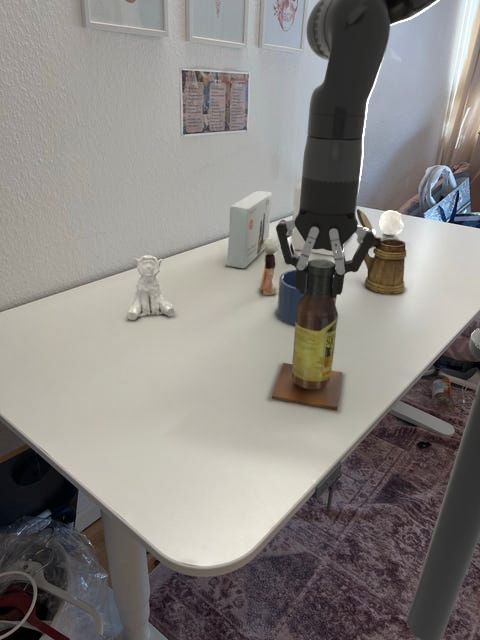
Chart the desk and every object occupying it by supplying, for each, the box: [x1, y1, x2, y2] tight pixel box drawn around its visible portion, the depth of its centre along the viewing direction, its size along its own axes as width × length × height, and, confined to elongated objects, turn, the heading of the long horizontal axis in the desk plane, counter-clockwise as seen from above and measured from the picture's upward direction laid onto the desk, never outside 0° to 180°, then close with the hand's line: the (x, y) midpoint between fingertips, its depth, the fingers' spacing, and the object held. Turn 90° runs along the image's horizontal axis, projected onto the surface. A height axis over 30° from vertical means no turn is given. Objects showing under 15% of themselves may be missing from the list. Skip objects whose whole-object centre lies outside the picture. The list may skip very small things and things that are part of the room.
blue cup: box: [277, 269, 338, 327], centre depth 99 cm, size 12×12×8 cm
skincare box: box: [226, 190, 273, 269], centre depth 129 cm, size 21×5×16 cm, turn 160°
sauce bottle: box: [291, 258, 339, 390], centre depth 72 cm, size 7×6×20 cm
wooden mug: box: [356, 208, 407, 295], centre depth 112 cm, size 9×14×18 cm, turn 69°
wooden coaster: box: [271, 362, 343, 411], centre depth 77 cm, size 10×10×1 cm
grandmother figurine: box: [259, 238, 280, 296], centre depth 108 cm, size 8×4×13 cm, turn 12°
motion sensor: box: [378, 209, 404, 236], centre depth 152 cm, size 8×8×8 cm
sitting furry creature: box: [126, 254, 175, 321], centre depth 98 cm, size 10×9×12 cm
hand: (318, 293), depth 70 cm, fingers closed on sauce bottle, 4 cm apart
